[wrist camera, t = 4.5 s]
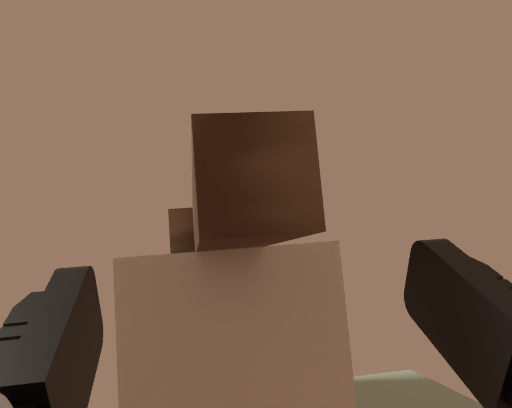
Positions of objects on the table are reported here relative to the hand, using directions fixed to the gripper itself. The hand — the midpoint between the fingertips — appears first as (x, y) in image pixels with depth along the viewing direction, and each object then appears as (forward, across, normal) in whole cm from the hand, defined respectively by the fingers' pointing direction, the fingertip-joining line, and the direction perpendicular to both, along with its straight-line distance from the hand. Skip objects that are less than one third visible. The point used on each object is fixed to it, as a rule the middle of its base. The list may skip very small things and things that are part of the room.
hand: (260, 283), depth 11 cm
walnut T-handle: (+8, 0, +4) cm, 9 cm away
